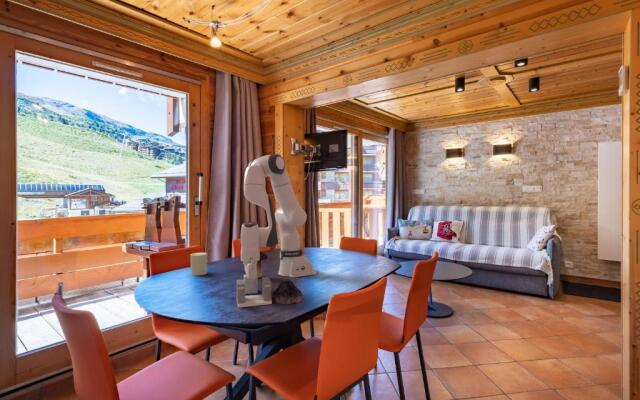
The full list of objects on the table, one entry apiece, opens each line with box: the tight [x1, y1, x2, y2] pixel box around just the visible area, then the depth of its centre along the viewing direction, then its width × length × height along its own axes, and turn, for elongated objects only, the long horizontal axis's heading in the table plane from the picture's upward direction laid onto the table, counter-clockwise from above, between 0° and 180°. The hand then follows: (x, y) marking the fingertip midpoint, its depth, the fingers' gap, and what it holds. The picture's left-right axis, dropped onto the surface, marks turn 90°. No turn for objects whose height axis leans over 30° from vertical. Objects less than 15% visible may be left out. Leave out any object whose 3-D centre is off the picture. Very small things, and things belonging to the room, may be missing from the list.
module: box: [243, 273, 259, 295], centre depth 152 cm, size 6×5×8 cm
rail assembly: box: [235, 276, 273, 308], centre depth 139 cm, size 14×11×9 cm
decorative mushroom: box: [256, 250, 269, 279], centre depth 178 cm, size 11×11×15 cm
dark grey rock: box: [273, 279, 304, 305], centre depth 141 cm, size 14×14×10 cm
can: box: [190, 252, 208, 276], centre depth 187 cm, size 9×9×12 cm
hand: (250, 285), depth 152 cm, fingers closed on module, 5 cm apart
